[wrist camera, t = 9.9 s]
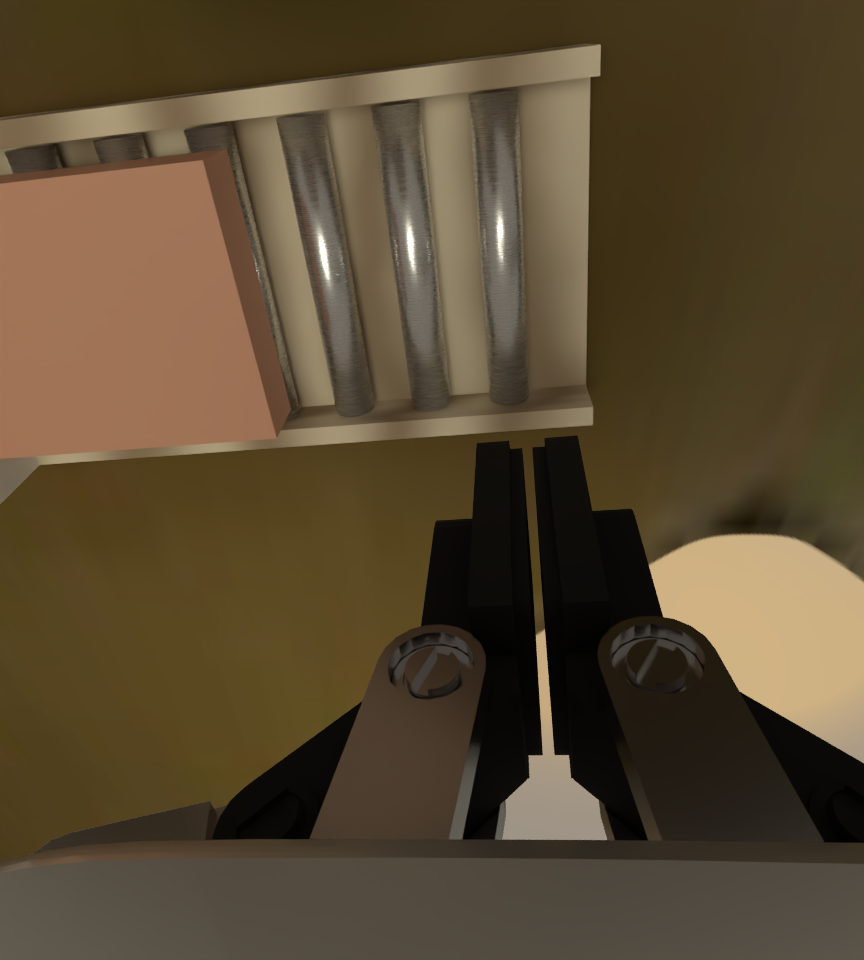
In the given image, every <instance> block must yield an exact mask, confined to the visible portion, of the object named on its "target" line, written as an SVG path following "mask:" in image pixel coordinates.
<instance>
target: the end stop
mask: <svg viewBox="0 0 864 960" xmlns="http://www.w3.org/2000/svg"><path fill="white" fill-rule="evenodd" d="M38 466H39V463H38V461H37V459H36V456H33V457H19V458H5V459H0V504H1V503H2V502H3V501H4V500H5V499H6V498H7V497H8V496H9V495H10V494H11V493H12V492H13V491H14V490H15V489H16V488H17V487H18V486H19V485H20V484H21V483H22V482H23V481H24V480H25V479H26V478H27V477H28V476H29V475H30V474H31V473H32V472H33V471H34V470H35V469H36V468H37V467H38Z"/></svg>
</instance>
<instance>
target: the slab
mask: <svg viewBox="0 0 864 960" xmlns="http://www.w3.org/2000/svg"><path fill="white" fill-rule="evenodd" d="M290 410H291V408H290V403H289V399H288V395H287V391H286V387H285V383H284V379H283V375H282V371H281V367H280V363H279V359H278V355H277V351H276V347H275V343H274V339H273V335H272V331H271V326H270V322H269V318H268V314H267V310H266V306H265V302H264V298H263V294H262V290H261V286H260V282H259V278H258V274H257V270H256V266H255V262H254V258H253V254H252V249H251V245H250V241H249V237H248V233H247V229H246V225H245V221H244V217H243V213H242V209H241V205H240V201H239V197H238V193H237V189H236V185H235V181H234V177H233V172H232V168H231V164H230V160H229V156H228V152H227V149H221V150H213V151H204V152H196V153H187V154H179V155H170V156H162V157H153V158H145V159H136V160H128V161H119V162H111V163H102V164H94V165H85V166H77V167H68V168H60V169H51V170H43V171H34V172H26V173H17V174H9V175H0V459H5V458H19V457H33V456H46V455H60V454H73V453H87V452H101V451H114V450H128V449H142V448H155V447H169V446H182V445H196V444H210V443H223V442H237V441H250V440H264V439H277V437H278V435H279V433H280V431H281V429H282V427H283V425H284V423H285V420H286V418H287V416H288V414H289V412H290Z"/></svg>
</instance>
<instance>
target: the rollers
mask: <svg viewBox="0 0 864 960" xmlns="http://www.w3.org/2000/svg"><path fill="white" fill-rule="evenodd" d="M468 96H469V110H470V124H471V138H472V153H473V167H474V181H475V195H476V210H477V224H478V238H479V252H480V267H481V281H482V295H483V309H484V324H485V338H486V352H487V367H488V381H489V395H490V400H491V401H492V402H494V403H496V404H500V405H514V404H518V403H521V402H524V401H525V400H527V399H528V397H529V380H528V352H527V324H526V296H525V268H524V239H523V211H522V183H521V155H520V127H519V99H518V89H500V90H491V91H484V92H478V93H473V94H469V95H468ZM371 111H372V118H373V125H374V132H375V139H376V147H377V154H378V161H379V168H380V176H381V183H382V190H383V197H384V204H385V212H386V219H387V226H388V233H389V240H390V248H391V255H392V262H393V269H394V276H395V284H396V291H397V298H398V305H399V312H400V320H401V327H402V334H403V341H404V348H405V356H406V363H407V370H408V377H409V385H410V392H411V399H412V405H413V407H414V408H415V409H417V410H421V411H434V410H439V409H442V408H444V407H446V406H447V405H449V404H450V402H451V398H450V388H449V379H448V369H447V359H446V350H445V340H444V331H443V321H442V312H441V302H440V292H439V283H438V273H437V264H436V254H435V245H434V235H433V225H432V216H431V206H430V197H429V187H428V178H427V168H426V158H425V149H424V139H423V130H422V120H421V111H420V101H419V100H412V101H400V102H392V103H386V104H380V105H375V106H372V107H371ZM276 122H277V126H278V131H279V136H280V141H281V146H282V151H283V155H284V160H285V165H286V170H287V175H288V180H289V184H290V189H291V194H292V199H293V204H294V209H295V213H296V218H297V223H298V228H299V233H300V238H301V242H302V247H303V252H304V257H305V262H306V267H307V271H308V276H309V281H310V286H311V291H312V296H313V300H314V305H315V310H316V315H317V320H318V325H319V329H320V334H321V339H322V344H323V349H324V354H325V358H326V363H327V368H328V373H329V378H330V383H331V387H332V392H333V397H334V402H335V407H336V412H337V413H338V414H339V415H341V416H344V417H356V416H361V415H364V414H366V413H368V412H370V411H371V410H372V409H373V408H374V400H373V394H372V388H371V383H370V377H369V371H368V365H367V359H366V354H365V348H364V342H363V336H362V330H361V325H360V319H359V313H358V307H357V301H356V296H355V290H354V284H353V278H352V272H351V267H350V261H349V255H348V249H347V243H346V237H345V232H344V226H343V220H342V214H341V208H340V203H339V197H338V191H337V185H336V179H335V174H334V168H333V162H332V156H331V150H330V145H329V139H328V133H327V127H326V121H325V116H324V112H310V113H302V114H295V115H289V116H283V117H279V118H276ZM183 131H184V135H185V139H186V142H187V146H188V150H189V153H196V152H204V151H213V150H221V149H227V152H228V156H229V160H230V164H231V168H232V172H233V177H234V181H235V185H236V189H237V193H238V197H239V201H240V205H241V209H242V213H243V217H244V221H245V225H246V229H247V233H248V237H249V241H250V245H251V249H252V254H253V258H254V262H255V266H256V270H257V274H258V278H259V282H260V286H261V290H262V294H263V298H264V302H265V306H266V310H267V314H268V318H269V322H270V326H271V331H272V335H273V339H274V343H275V347H276V351H277V355H278V359H279V363H280V367H281V371H282V375H283V379H284V383H285V387H286V391H287V395H288V399H289V403H290V408H291V410H290V412H289V414H288V416H287V418H286V420H285V421H287V420H290V419H292V418H294V417H295V416H297V415H298V414H299V412H300V409H299V404H298V400H297V396H296V392H295V388H294V383H293V379H292V375H291V371H290V367H289V362H288V358H287V354H286V350H285V346H284V342H283V337H282V333H281V329H280V325H279V321H278V316H277V312H276V308H275V304H274V300H273V296H272V291H271V287H270V283H269V279H268V275H267V270H266V266H265V262H264V258H263V254H262V250H261V245H260V241H259V237H258V233H257V229H256V224H255V220H254V216H253V212H252V208H251V203H250V199H249V195H248V191H247V187H246V183H245V178H244V174H243V170H242V166H241V162H240V157H239V153H238V149H237V145H236V141H235V137H234V132H233V128H232V124H231V123H220V124H211V125H204V126H198V127H193V128H188V129H184V130H183ZM93 144H94V147H95V150H96V153H97V155H98V158H99V161H100V164H102V163H111V162H119V161H128V160H136V159H145V158H149V157H148V154H147V150H146V147H145V144H144V140H143V137H142V134H129V135H121V136H114V137H108V138H103V139H98V140H94V141H93ZM5 155H6V157H7V160H8V162H9V165H10V167H11V170H12V172H13V174H17V173H26V172H34V171H43V170H51V169H60V168H63V166H62V164H61V161H60V158H59V156H58V153H57V150H56V148H55V145H54V144H47V145H38V146H31V147H25V148H19V149H14V150H9V151H6V152H5Z"/></svg>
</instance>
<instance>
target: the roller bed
mask: <svg viewBox="0 0 864 960" xmlns="http://www.w3.org/2000/svg"><path fill="white" fill-rule="evenodd" d="M600 58H601V45H598V44H586V43H585V44H577V45H569V46H561V47H554V48H546V49H538V50H530V51H522V52H514V53H506V54H498V55H490V56H482V57H475V58H467V59H459V60H451V61H443V62H435V63H427V64H419V65H411V66H403V67H396V68H388V69H380V70H372V71H364V72H356V73H348V74H340V75H332V76H324V77H316V78H309V79H301V80H293V81H285V82H277V83H269V84H261V85H253V86H245V87H237V88H230V89H222V90H214V91H206V92H198V93H190V94H182V95H174V96H166V97H158V98H151V99H143V100H135V101H127V102H119V103H111V104H103V105H95V106H87V107H79V108H72V109H64V110H56V111H48V112H40V113H32V114H24V115H16V116H8V117H0V175H9V174H13V172H12V170H11V167H10V165H9V162H8V160H7V157H6V155H5V152H6V151H9V150H14V149H19V148H25V147H31V146H38V145H47V144H54V145H55V148H56V150H57V153H58V156H59V158H60V161H61V164H62V166H63V168H68V167H77V166H85V165H94V164H100V161H99V158H98V155H97V153H96V150H95V147H94V144H93V141H94V140H98V139H103V138H108V137H114V136H121V135H129V134H142V137H143V140H144V144H145V147H146V150H147V154H148V157H149V158H153V157H162V156H170V155H179V154H187V153H189V150H188V146H187V142H186V139H185V135H184V131H183V130H184V129H188V128H193V127H198V126H204V125H211V124H220V123H231V124H232V128H233V132H234V137H235V141H236V145H237V149H238V153H239V157H240V162H241V166H242V170H243V174H244V178H245V183H246V187H247V191H248V195H249V199H250V203H251V208H252V212H253V216H254V220H255V224H256V229H257V233H258V237H259V241H260V245H261V250H262V254H263V258H264V262H265V266H266V270H267V275H268V279H269V283H270V287H271V291H272V296H273V300H274V304H275V308H276V312H277V316H278V321H279V325H280V329H281V333H282V337H283V342H284V346H285V350H286V354H287V358H288V362H289V367H290V371H291V375H292V379H293V383H294V388H295V392H296V396H297V400H298V404H299V409H300V412H299V414H298V415H297V416H295V417H294V418H292V419H290V420H287V421H285V423H284V425H283V427H282V429H281V431H280V433H279V435H278V437H277V439H264V440H250V441H237V442H223V443H210V444H196V445H182V446H169V447H155V448H142V449H128V450H114V451H101V452H87V453H73V454H60V455H46V456H36V459H37V461H38V463H39V465H45V464H59V463H73V462H87V461H101V460H115V459H128V458H142V457H156V456H170V455H184V454H198V453H212V452H226V451H240V450H253V449H267V448H281V447H295V446H309V445H323V444H337V443H351V442H364V441H378V440H392V439H406V438H420V437H434V436H448V435H462V434H476V433H489V432H503V431H517V430H531V429H545V428H559V427H573V426H587V425H593V405H592V402H591V399H590V396H589V393H588V389H587V386H586V352H587V281H588V210H589V139H590V77H595V76H600ZM500 89H518V99H519V127H520V155H521V183H522V211H523V239H524V268H525V296H526V324H527V352H528V380H529V397H528V399H527V400H525V401H524V402H521V403H518V404H514V405H500V404H496V403H494V402H492V401H491V400H490V395H489V381H488V367H487V352H486V338H485V324H484V309H483V295H482V281H481V267H480V252H479V238H478V224H477V210H476V195H475V181H474V167H473V153H472V138H471V124H470V110H469V96H468V95H469V94H473V93H478V92H484V91H491V90H500ZM412 100H419V101H420V111H421V120H422V130H423V139H424V149H425V158H426V168H427V178H428V187H429V197H430V206H431V216H432V225H433V235H434V245H435V254H436V264H437V273H438V283H439V292H440V302H441V312H442V321H443V331H444V340H445V350H446V359H447V369H448V379H449V388H450V398H451V402H450V404H449V405H447V406H446V407H444V408H442V409H439V410H434V411H421V410H417V409H415V408H414V407H413V405H412V399H411V392H410V385H409V377H408V370H407V363H406V356H405V348H404V341H403V334H402V327H401V320H400V312H399V305H398V298H397V291H396V284H395V276H394V269H393V262H392V255H391V248H390V240H389V233H388V226H387V219H386V212H385V204H384V197H383V190H382V183H381V176H380V168H379V161H378V154H377V147H376V139H375V132H374V125H373V118H372V111H371V107H372V106H375V105H380V104H386V103H392V102H400V101H412ZM310 112H324V116H325V121H326V127H327V133H328V139H329V145H330V150H331V156H332V162H333V168H334V174H335V179H336V185H337V191H338V197H339V203H340V208H341V214H342V220H343V226H344V232H345V237H346V243H347V249H348V255H349V261H350V267H351V272H352V278H353V284H354V290H355V296H356V301H357V307H358V313H359V319H360V325H361V330H362V336H363V342H364V348H365V354H366V359H367V365H368V371H369V377H370V383H371V388H372V394H373V400H374V408H373V409H372V410H371V411H370V412H368V413H366V414H364V415H361V416H356V417H344V416H341V415H339V414H338V413H337V412H336V407H335V402H334V397H333V392H332V387H331V383H330V378H329V373H328V368H327V363H326V358H325V354H324V349H323V344H322V339H321V334H320V329H319V325H318V320H317V315H316V310H315V305H314V300H313V296H312V291H311V286H310V281H309V276H308V271H307V267H306V262H305V257H304V252H303V247H302V242H301V238H300V233H299V228H298V223H297V218H296V213H295V209H294V204H293V199H292V194H291V189H290V184H289V180H288V175H287V170H286V165H285V160H284V155H283V151H282V146H281V141H280V136H279V131H278V126H277V122H276V118H279V117H283V116H289V115H295V114H302V113H310Z"/></svg>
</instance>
